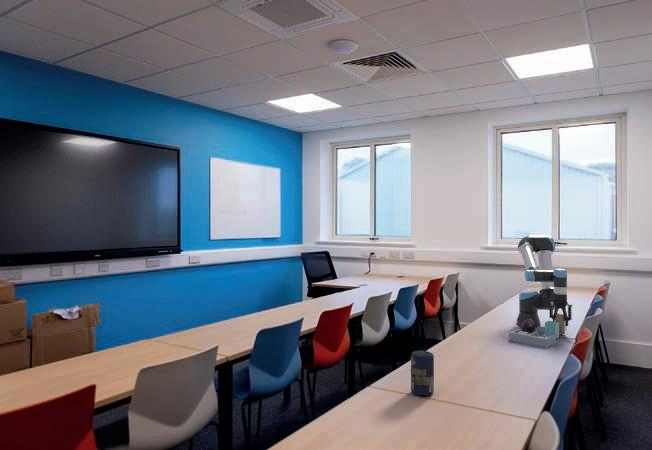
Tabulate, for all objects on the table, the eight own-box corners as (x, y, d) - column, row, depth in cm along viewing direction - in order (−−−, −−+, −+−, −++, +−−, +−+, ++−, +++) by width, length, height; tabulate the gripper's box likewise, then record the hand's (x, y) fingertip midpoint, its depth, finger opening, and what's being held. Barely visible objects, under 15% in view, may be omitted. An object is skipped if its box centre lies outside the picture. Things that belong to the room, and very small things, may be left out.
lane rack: (519, 336, 281) (519, 328, 281) (555, 343, 266) (555, 334, 266) (509, 340, 272) (509, 332, 272) (546, 347, 256) (546, 339, 256)
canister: (408, 389, 195) (408, 347, 195) (429, 388, 196) (429, 347, 196) (414, 398, 185) (414, 354, 185) (437, 397, 186) (436, 353, 186)
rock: (517, 335, 290) (534, 337, 283) (516, 322, 289) (532, 324, 282) (524, 329, 298) (540, 331, 291) (523, 316, 297) (539, 318, 290)
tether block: (557, 331, 289) (556, 312, 289) (567, 333, 285) (566, 314, 285) (544, 337, 276) (544, 317, 276) (555, 338, 272) (555, 318, 272)
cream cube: (519, 339, 275) (519, 331, 275) (528, 340, 272) (528, 332, 272) (517, 341, 271) (517, 332, 271) (526, 342, 268) (526, 334, 268)
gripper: (543, 292, 289) (543, 329, 290) (573, 295, 276) (573, 334, 276) (547, 291, 294) (548, 327, 295) (577, 294, 281) (578, 331, 281)
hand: (560, 330), depth 286 cm, fingers closed on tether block, 5 cm apart
